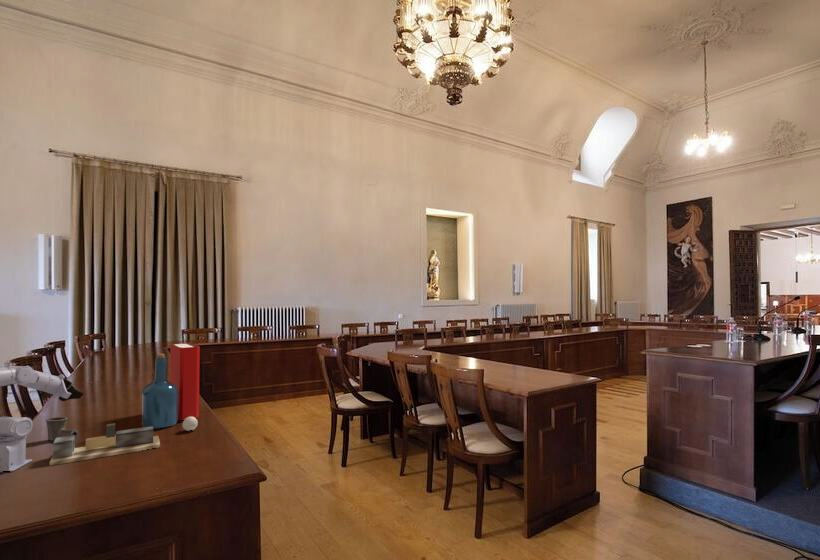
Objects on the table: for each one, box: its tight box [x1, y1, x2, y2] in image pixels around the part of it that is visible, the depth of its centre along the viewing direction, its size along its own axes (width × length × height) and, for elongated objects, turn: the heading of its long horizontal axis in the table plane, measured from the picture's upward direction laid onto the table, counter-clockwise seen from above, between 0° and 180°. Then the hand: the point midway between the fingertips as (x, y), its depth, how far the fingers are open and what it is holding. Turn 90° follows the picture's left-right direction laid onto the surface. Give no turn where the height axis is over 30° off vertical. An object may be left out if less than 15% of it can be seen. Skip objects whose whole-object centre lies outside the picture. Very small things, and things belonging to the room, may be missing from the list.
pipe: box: [45, 416, 79, 442], centre depth 168 cm, size 6×13×8 cm, turn 78°
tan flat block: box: [85, 422, 116, 450], centre depth 157 cm, size 20×3×7 cm, turn 122°
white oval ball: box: [182, 417, 201, 432], centre depth 179 cm, size 8×6×6 cm
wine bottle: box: [141, 353, 179, 430], centre depth 187 cm, size 14×13×30 cm
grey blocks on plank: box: [49, 426, 161, 467], centre depth 156 cm, size 31×12×6 cm, turn 122°
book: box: [169, 341, 201, 421], centre depth 206 cm, size 27×8×32 cm, turn 37°
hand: (75, 390), depth 164 cm, fingers open, 7 cm apart
